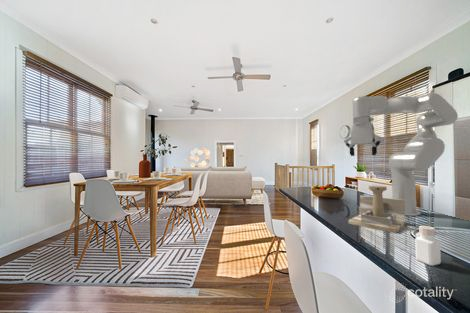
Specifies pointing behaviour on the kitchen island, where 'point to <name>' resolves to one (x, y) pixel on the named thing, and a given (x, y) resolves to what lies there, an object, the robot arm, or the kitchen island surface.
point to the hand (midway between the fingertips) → (362, 155)
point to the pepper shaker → (427, 246)
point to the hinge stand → (389, 222)
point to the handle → (378, 200)
